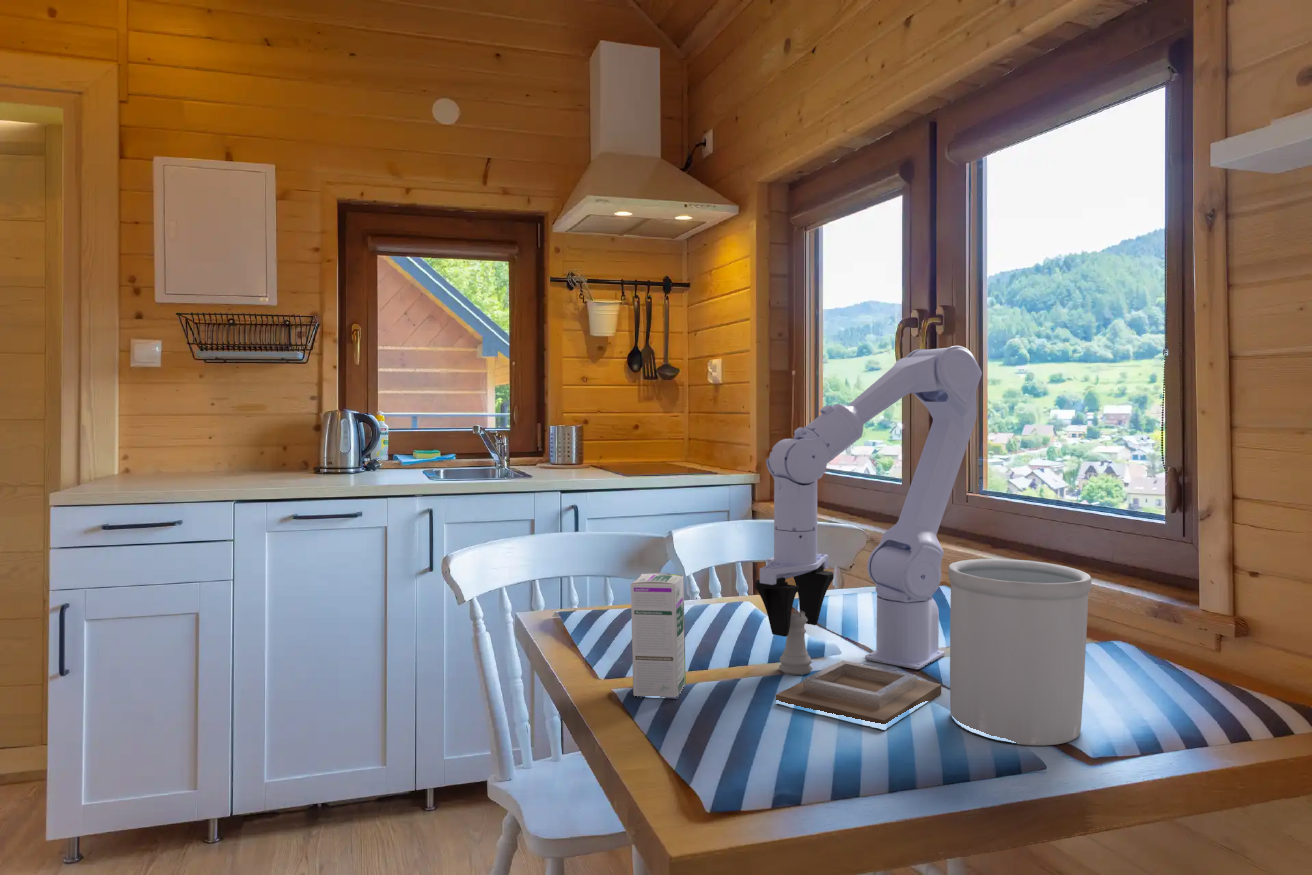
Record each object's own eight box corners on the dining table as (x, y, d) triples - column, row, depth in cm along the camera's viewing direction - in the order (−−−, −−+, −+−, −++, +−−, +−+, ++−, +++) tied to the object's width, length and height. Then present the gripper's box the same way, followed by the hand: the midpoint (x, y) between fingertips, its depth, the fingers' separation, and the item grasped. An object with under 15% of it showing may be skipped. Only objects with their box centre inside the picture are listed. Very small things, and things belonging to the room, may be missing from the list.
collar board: (839, 672, 121) (839, 652, 121) (941, 693, 112) (941, 672, 112) (775, 704, 109) (775, 682, 108) (884, 730, 100) (884, 706, 100)
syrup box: (678, 700, 110) (677, 582, 110) (631, 697, 111) (630, 580, 111) (686, 685, 116) (685, 573, 115) (641, 683, 117) (640, 571, 116)
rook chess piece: (814, 667, 123) (814, 609, 123) (809, 677, 119) (809, 617, 119) (782, 664, 125) (782, 607, 124) (775, 674, 120) (775, 614, 120)
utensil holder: (1033, 697, 111) (1034, 555, 110) (1119, 742, 96) (1122, 579, 95) (922, 706, 108) (924, 560, 107) (995, 754, 93) (997, 586, 92)
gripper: (797, 520, 129) (796, 614, 130) (740, 531, 118) (739, 635, 118) (842, 524, 125) (841, 622, 125) (786, 537, 113) (786, 644, 114)
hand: (795, 629), depth 121 cm, fingers open, 7 cm apart
